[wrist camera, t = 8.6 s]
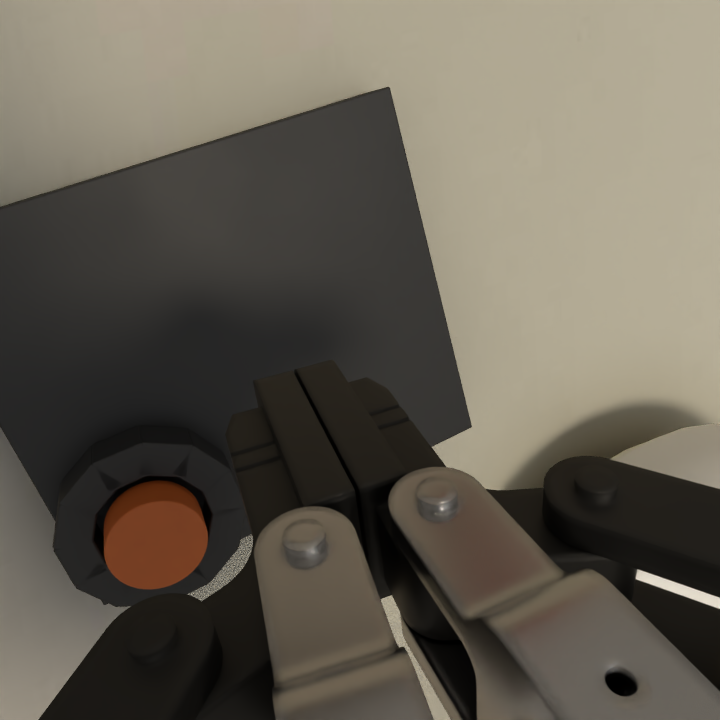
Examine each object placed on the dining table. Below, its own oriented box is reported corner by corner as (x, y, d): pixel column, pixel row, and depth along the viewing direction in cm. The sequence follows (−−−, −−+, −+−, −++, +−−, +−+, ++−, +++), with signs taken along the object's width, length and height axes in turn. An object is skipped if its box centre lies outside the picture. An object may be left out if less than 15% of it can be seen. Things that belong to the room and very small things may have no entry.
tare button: (127, 579, 22) (129, 606, 21) (87, 505, 21) (86, 530, 19) (214, 537, 23) (222, 561, 21) (180, 464, 21) (186, 484, 20)
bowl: (583, 332, 30) (742, 386, 23) (784, 464, 39) (945, 534, 32) (387, 675, 32) (477, 832, 24) (624, 727, 41) (743, 854, 33)
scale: (103, 578, 25) (103, 636, 22) (-92, 235, 20) (-128, 248, 16) (450, 413, 29) (493, 442, 26) (369, 91, 24) (410, 80, 20)
